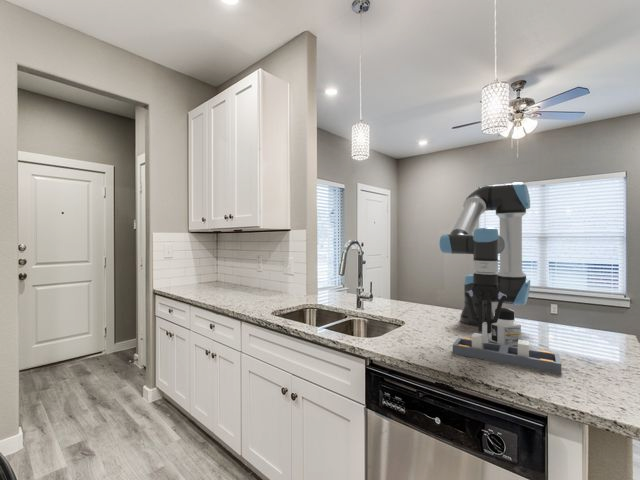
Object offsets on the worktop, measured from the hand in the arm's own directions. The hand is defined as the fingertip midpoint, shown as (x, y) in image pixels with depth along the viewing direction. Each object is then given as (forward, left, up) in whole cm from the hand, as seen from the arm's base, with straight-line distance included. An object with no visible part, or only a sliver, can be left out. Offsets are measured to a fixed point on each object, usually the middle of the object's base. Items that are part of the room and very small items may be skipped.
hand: (484, 342), depth 109 cm
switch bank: (0, +6, -4) cm, 7 cm away
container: (-19, +5, -5) cm, 20 cm away
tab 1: (0, -2, -3) cm, 4 cm away
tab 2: (0, +11, -3) cm, 12 cm away
